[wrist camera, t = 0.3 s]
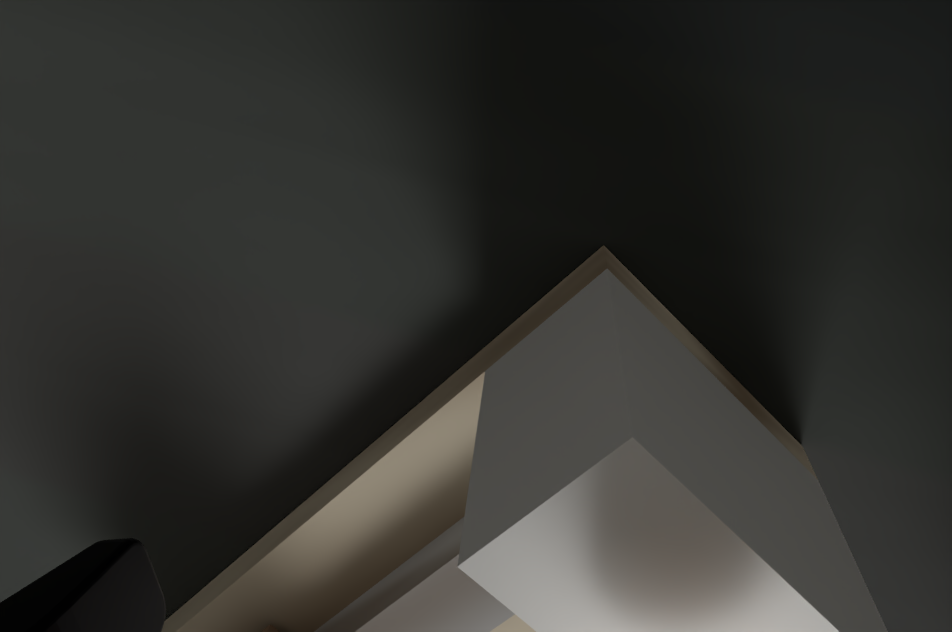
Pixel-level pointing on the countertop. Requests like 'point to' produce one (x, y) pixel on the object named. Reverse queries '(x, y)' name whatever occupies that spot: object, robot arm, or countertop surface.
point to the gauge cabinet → (644, 491)
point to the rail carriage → (270, 629)
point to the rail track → (405, 513)
